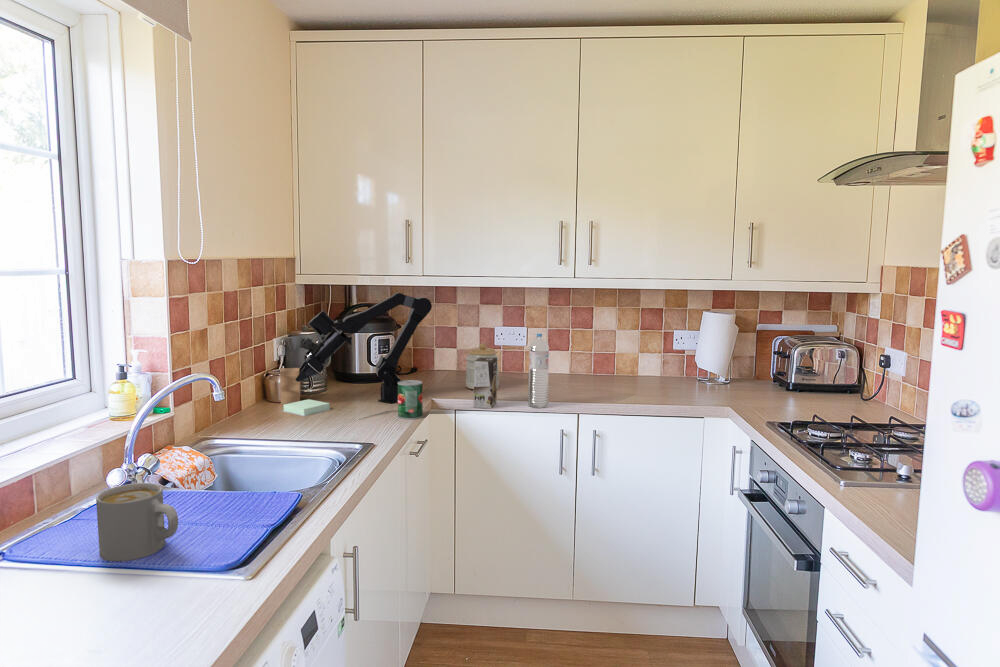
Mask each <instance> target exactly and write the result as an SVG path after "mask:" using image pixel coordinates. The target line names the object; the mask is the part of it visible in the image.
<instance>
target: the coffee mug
mask: <svg viewBox="0 0 1000 667" xmlns="http://www.w3.org/2000/svg"><path fill="white" fill-rule="evenodd" d="M163 494H164V493H163V487H162V485H160V484H157V483H153V482H135V483H128V484H127V483H126V484H122V485H117V486H114V487H110V488H108V489H106V490H104V491H101V492H100V493H98V495H97V496H96V499H95V502H96V503H95V504H96V519H97V530H98V532H97V533H98V545H99V546H98V548H99V549H98V550H99V551H98V552H99V557H100V558H101V559H103V560H105V561H108V562H126V561H127V562H128V561H135V560H138V559H143V558H145V557H149V556H151V555H154V554H156V553H157V552H158V551H160V550H162V549H163V547H165V545H166V540H167V539H169V538H171V537H173V536H174V535H175V534H176V532H177V531H178V527H179V517H178V512H177V510H176V508H175V507H173V506H172V505H170V504H169V503H168V504H167V503H164V495H163ZM165 516H166V518H167V522H168V523H167V524H168V525H167V528H166V527H165Z"/></svg>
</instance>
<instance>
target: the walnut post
mask: <svg viewBox="0 0 1000 667" xmlns="http://www.w3.org/2000/svg"><path fill="white" fill-rule="evenodd" d="M299 369H300V367H285V368H283V367H282V368H281V367H280V370H279V375H280V376H279V380H280V382H279V383H280V405H281V406H283V405H284V404H289V403H294V402H298V401H301V390H300V389H301V388H300V387H301V381H299V382H297V381H296V380H295V379H296V378H297V376H298V375H299Z"/></svg>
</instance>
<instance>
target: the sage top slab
mask: <svg viewBox="0 0 1000 667" xmlns="http://www.w3.org/2000/svg"><path fill="white" fill-rule="evenodd" d="M282 406H283V410H284V411H287V412H291V413H296V414H300V415H307V416H309V415H308V414H311V415H314V414H313V413H315V414H318V413H317V412H320V413H322V412H321V411H324V412H326V411H325V410H328V411H330V410H329V409H331V408H330V403H329V402H325V401H320V400H315V399H304V400H300V401H298V402H294V403H289V404H284V405H282ZM287 412H286V413H287ZM291 413H290V414H291ZM296 414H295V415H296ZM300 415H299V416H300Z"/></svg>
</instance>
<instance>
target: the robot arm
mask: <svg viewBox="0 0 1000 667" xmlns="http://www.w3.org/2000/svg"><path fill="white" fill-rule="evenodd" d="M400 305H401V306H404V307H407V308H409V313H408V317H407V320H406V321H405V323H404V325H403V326H402V328H401V330H400V331H399V333H398V335H397V337H396V338H395V341H394V343H393V345H392V346H391V348H390V349H389V352H388V353H386V355H385V356H384V355H382V354H381V355H380V357H379V360H378V361H377V363H375V364H374V365H375V374H376V376H377V377H378V379H379V380H381V381H382V383H380V398H379V399H377V400H378V402H382V403H387V404H393V403H398V382H399V381H402V380H401V378H400V377H399V376H398V374H396V370H397V368H398V364H399V360H400V358H401V356H402V354H403V353H404V350H405V349H406V347H407V345H408V344H409V342H410V339H411V338H412V336H413V334H414V333H415V330H416V329H417V327H418V325H419V324H420V323H421V322H422V321H423V320H424V319H425V318H426V317H427V315H428V314H429V313H430V312H431V311H432V308H433V304H432V302H431V300H430V299H429V298H426V297H424V296H418V297H414V296H409V295H406V294H403V293H401V292H395V293H394V294H392V295H390V296H388V297H387V298H385V299H384V300H382V301H380V302H378V303H376V304H373V305H372V306H370V307H369V308H367V309H365V310H362V311H360V312H355V313H353V314H350V315H347V316H345V317H343V319H336V320H333V318H331V317H330V316H329V315H328V314H327V312H325V310H321V311H320V312H319V313H317V315H314V317H313V318H312V319H311V320H310V321H309V322H308V323H307V325H308V326H309V327H310V328H311V329H312V330H314V332H316V334H318V335H319V336H326V335H327V336H326V337H325V338H324V339H323V340H319V341H318V342H316V341H314V340H313V339H312V338H309V337H304V336H301V337H300V339H299V341H298V343H297V347H298V348H301V349H304V350H306V351H305V354H304V361H303V363H301V366H300V367H299V375H298V376H297V378H296V379H295V380H296V381H297V382H299V381H300V382H301V381H303V380H306V379H308V378H311V377H313V376H315V375H318V374H321V373H322V372H323V371H324V370H325V364H326V362H327V361H328V360H329V359H330V358H331V357H333V356H334V355H335V353H336V352H337V351H338V350H339V349H340V348H341V347H342V346H343V345H344V344H345V343H347V344H348V345H349V346H352V340H353V338H352V335H354V334H356V333H358V332H359V331H360V330H361V329H363V328H365V326H366V325H367V324H368V323H370V322H371V321H372V320H374V319H376V318H378V317H380V316H382V315H384V314H385V313H387V312H389V311H391V310H393V309H394V308H396V307H398V306H400ZM339 330H341V331H339ZM347 334H349V336H348V335H347ZM350 335H351V336H350Z"/></svg>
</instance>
